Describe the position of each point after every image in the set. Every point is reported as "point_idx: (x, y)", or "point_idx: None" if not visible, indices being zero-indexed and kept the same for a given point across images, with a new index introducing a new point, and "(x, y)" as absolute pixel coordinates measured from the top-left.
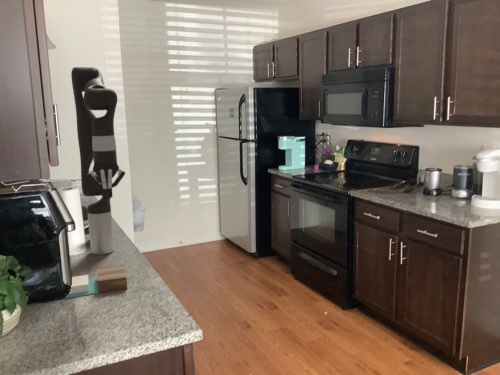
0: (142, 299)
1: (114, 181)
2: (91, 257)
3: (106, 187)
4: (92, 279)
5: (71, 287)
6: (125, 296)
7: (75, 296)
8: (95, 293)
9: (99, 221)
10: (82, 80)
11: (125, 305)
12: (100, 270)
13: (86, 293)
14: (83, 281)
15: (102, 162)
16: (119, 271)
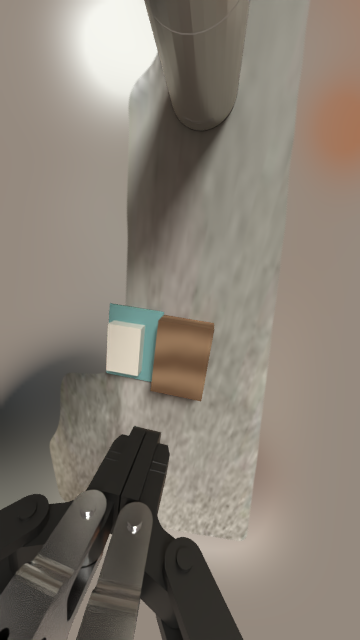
0: (213, 438)
1: (173, 602)
2: (167, 144)
3: (101, 553)
4: (152, 318)
5: (111, 370)
6: (192, 414)
7: (121, 374)
8: (151, 381)
9: (184, 36)
10: None
11: (185, 442)
12: (162, 338)
13: (137, 377)
14: (130, 358)
15: None
16: (195, 365)
